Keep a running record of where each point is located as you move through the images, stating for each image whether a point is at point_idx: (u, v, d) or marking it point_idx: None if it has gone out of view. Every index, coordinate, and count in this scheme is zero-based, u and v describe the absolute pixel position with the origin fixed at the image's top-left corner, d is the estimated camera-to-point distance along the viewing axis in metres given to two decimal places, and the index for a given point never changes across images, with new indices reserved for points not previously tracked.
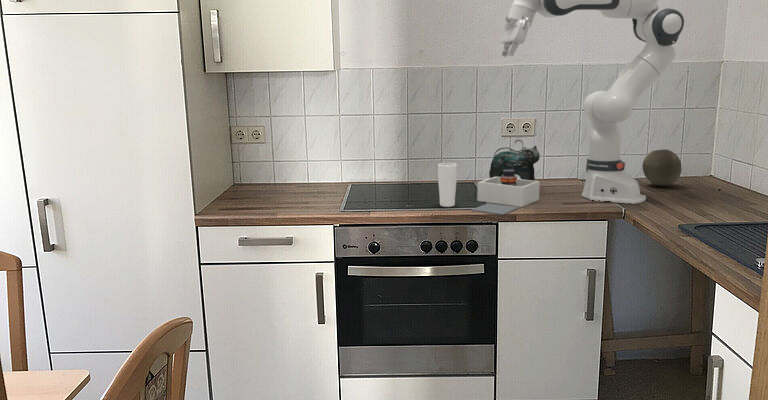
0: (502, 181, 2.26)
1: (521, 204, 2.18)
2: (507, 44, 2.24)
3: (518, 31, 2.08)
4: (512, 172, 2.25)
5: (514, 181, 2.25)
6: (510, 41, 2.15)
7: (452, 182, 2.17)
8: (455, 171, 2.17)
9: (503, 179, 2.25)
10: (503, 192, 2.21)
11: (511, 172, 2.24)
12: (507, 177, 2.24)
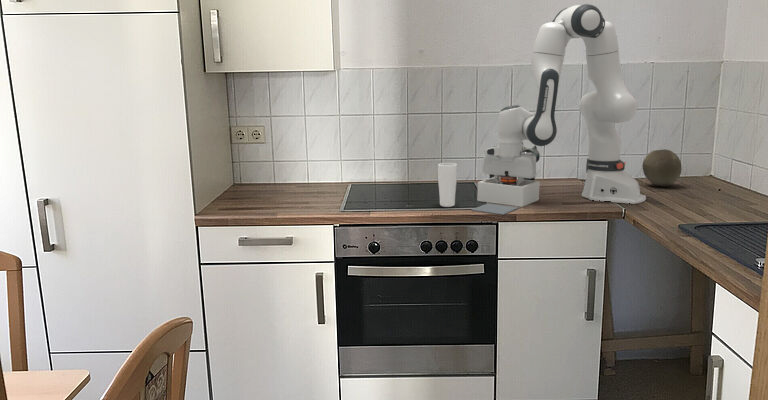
0: (502, 181, 2.25)
1: (521, 204, 2.18)
2: (498, 175, 2.29)
3: (532, 169, 2.19)
4: None
5: (514, 181, 2.25)
6: None
7: (452, 182, 2.17)
8: (455, 171, 2.17)
9: (503, 179, 2.25)
10: (503, 192, 2.21)
11: None
12: (507, 177, 2.24)
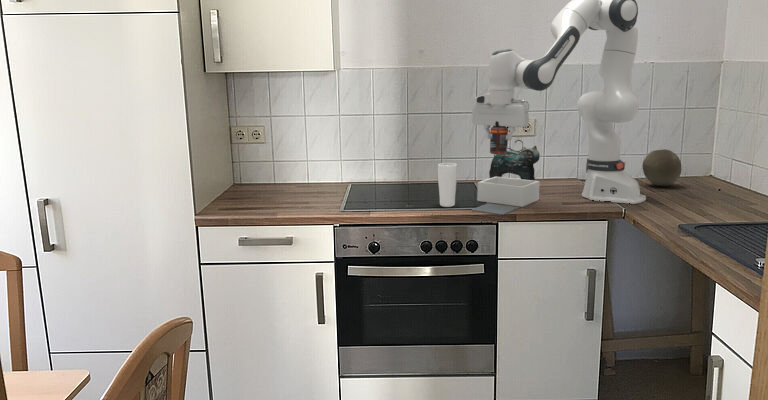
0: (492, 132, 2.11)
1: (521, 204, 2.18)
2: (488, 125, 2.14)
3: (524, 117, 2.04)
4: None
5: (505, 132, 2.10)
6: (508, 126, 2.08)
7: (452, 182, 2.17)
8: (455, 171, 2.17)
9: (494, 130, 2.10)
10: (503, 192, 2.21)
11: None
12: (497, 128, 2.10)
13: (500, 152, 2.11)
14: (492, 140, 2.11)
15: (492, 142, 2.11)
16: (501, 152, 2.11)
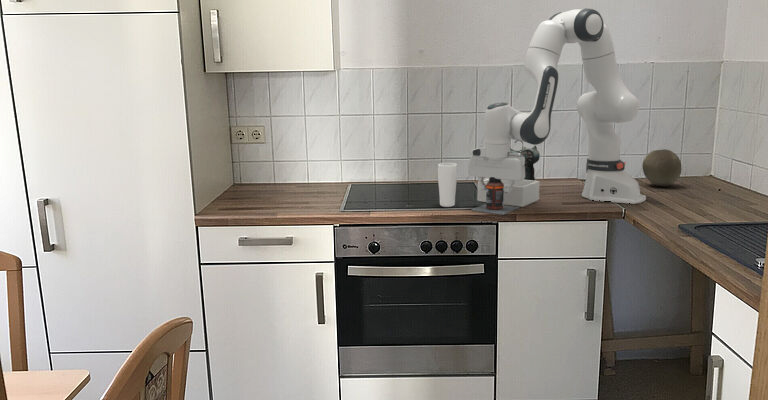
0: (488, 188, 2.11)
1: (521, 204, 2.18)
2: (482, 177, 2.15)
3: (521, 171, 2.04)
4: None
5: (501, 188, 2.11)
6: (504, 179, 2.08)
7: (452, 182, 2.17)
8: (455, 171, 2.17)
9: (489, 186, 2.11)
10: None
11: None
12: (493, 184, 2.10)
13: (496, 208, 2.11)
14: (488, 196, 2.12)
15: (488, 198, 2.12)
16: (497, 207, 2.11)
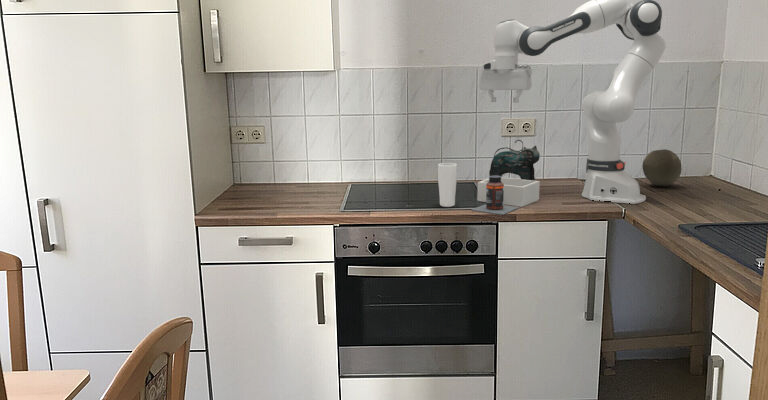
0: (488, 188, 2.11)
1: (521, 204, 2.18)
2: (492, 90, 2.36)
3: (528, 81, 2.26)
4: (499, 178, 2.11)
5: (501, 188, 2.10)
6: (512, 89, 2.30)
7: (452, 182, 2.17)
8: (455, 171, 2.17)
9: (489, 186, 2.11)
10: None
11: (497, 178, 2.10)
12: (493, 184, 2.10)
13: (496, 208, 2.11)
14: (488, 196, 2.12)
15: (488, 198, 2.12)
16: (497, 207, 2.11)
